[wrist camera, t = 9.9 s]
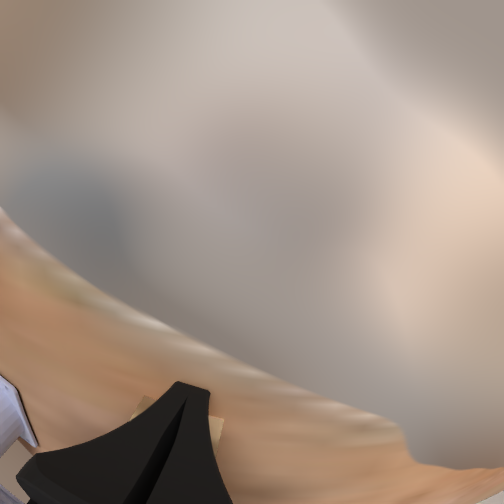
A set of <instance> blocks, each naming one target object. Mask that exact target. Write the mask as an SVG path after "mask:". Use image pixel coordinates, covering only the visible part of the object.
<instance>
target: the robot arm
mask: <svg viewBox="0 0 504 504" xmlns="http://www.w3.org/2000/svg"><path fill="white" fill-rule="evenodd" d="M209 397H210V392H209V391H208V390H205V389H202V388H198V387H195V386H192V385H188V384H185V383H182V382H179V381H177V382H175V383H174V384H173V385H172V386H171V388H170V389H169V390H168V391H167V392H166V393H165V394H164V395H162V396H161V397H160V398H159V399H158V400H157V401H156V402H154V403H153V404H152V405H151V406H150V407H148V408H147V409H146V410H144V411H143V412H142V413H140V414H139V415H137V416H136V417H135V418H133V419H132V420H130V421H129V422H127V423H125V424H124V425H122V426H120V427H119V428H117V429H115V430H113V431H111V432H109V433H107V434H105V435H102V436H100V437H98V438H96V439H93V440H91V441H88V442H85V443H82V444H79V445H75V446H72V447H69V448H65V449H60V450H55V451H49V452H43V453H36V454H35V455H34V456H33V457H32V458H31V459H30V460H29V461H28V462H27V463H26V464H25V465H24V467H23V468H22V469H21V470H20V471H19V473H18V474H17V475H16V479H17V482H18V483H19V485H20V486H21V487H22V489H23V490H24V491H25V492H26V494H27V495H28V496H29V497H30V500H29V502H28V503H27V504H233V503H232V500H231V498H230V496H229V494H228V492H227V490H226V487H225V485H224V483H223V480H222V478H221V475H220V472H219V469H218V466H217V463H216V459H215V455H214V451H213V446H212V441H211V435H210V427H209V415H208V407H209ZM19 436H20V437H21V438H23V439H24V440H25V441H27V442H28V443H29V444H31V445H32V446H33V447H37V446H38V444H37V441H36V439H35V437H34V435H33V432H32V430H31V427H30V425H29V423H28V420H27V417H26V415H25V412H24V409H23V406H22V404H21V401H20V398H19V395H18V392H17V390H16V389H15V387H14V386H13V385H11V384H10V383H9V382H8V381H6V380H5V379H4V378H3V377H2V376H0V458H1V456H2V455H3V454H4V453H5V452H6V451H7V450H8V448H9V447H10V446H11V445H12V444H13V443H14V442H15V441H16V440H17V438H18V437H19ZM0 504H24V503H23V502H22V501H20V500H19V499H18V498H17V497H15V496H14V495H13V494H12V493H10V492H9V491H8V490H7V489H5V488H4V487H3V486H2V485H1V484H0Z"/></svg>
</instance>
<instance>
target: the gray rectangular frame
mask: <svg viewBox="0 0 504 504" xmlns="http://www.w3.org/2000/svg"><path fill="white" fill-rule="evenodd" d="M476 504H504V490H503V491H501V492H499V493H498V494H495V495H493V496H491V497H489V498H487V499H485V500H483V501H480V502H478V503H476Z"/></svg>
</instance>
